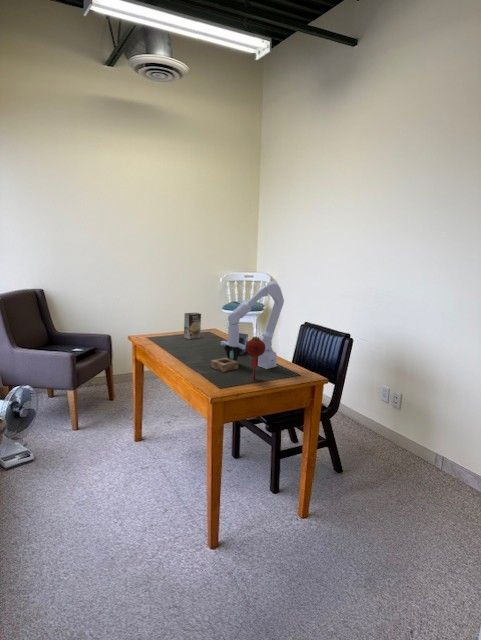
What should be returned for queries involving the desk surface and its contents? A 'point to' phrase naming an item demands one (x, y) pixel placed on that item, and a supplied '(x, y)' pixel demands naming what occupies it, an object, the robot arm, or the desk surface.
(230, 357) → the peg
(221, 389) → the desk surface
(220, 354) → the desk surface
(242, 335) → the small box
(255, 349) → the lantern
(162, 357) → the desk surface
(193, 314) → the coffee box
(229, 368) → the socket block
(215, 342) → the desk surface
